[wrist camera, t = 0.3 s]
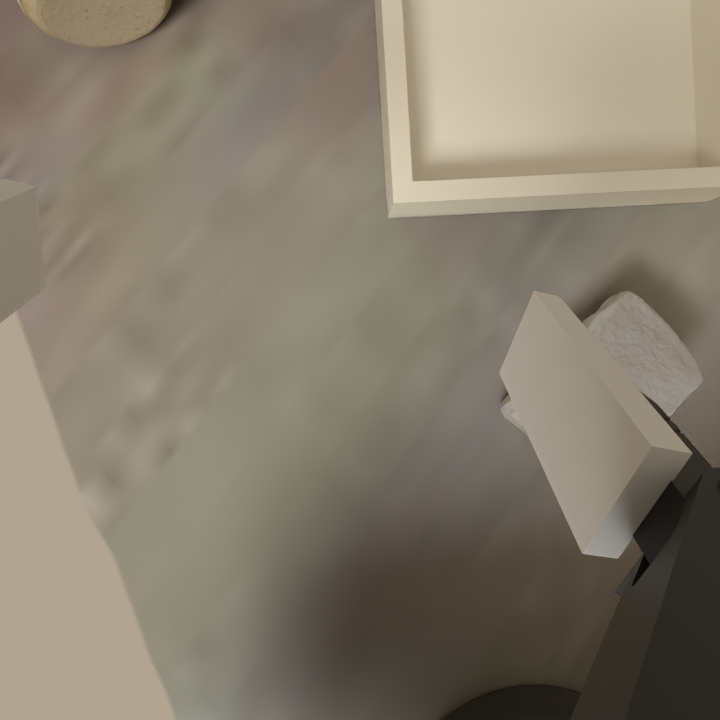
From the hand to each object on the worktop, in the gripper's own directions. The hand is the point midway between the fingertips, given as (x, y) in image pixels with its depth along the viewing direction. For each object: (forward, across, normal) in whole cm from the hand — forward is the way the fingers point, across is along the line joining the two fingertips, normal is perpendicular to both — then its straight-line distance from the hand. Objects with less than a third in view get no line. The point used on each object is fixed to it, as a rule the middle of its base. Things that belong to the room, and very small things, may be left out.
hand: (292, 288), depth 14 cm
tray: (+21, -10, -10) cm, 25 cm away
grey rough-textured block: (+12, -17, +7) cm, 22 cm away
